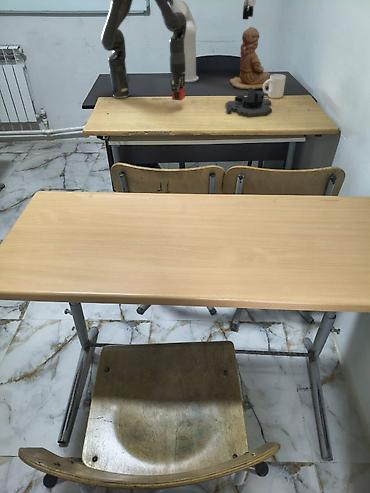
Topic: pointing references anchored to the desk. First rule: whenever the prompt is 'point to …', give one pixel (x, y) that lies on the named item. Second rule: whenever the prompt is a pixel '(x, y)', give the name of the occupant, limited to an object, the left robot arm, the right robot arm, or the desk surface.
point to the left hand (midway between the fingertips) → (178, 97)
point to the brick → (181, 94)
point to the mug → (275, 86)
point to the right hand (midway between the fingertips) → (247, 17)
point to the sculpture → (250, 63)
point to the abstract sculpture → (249, 104)
